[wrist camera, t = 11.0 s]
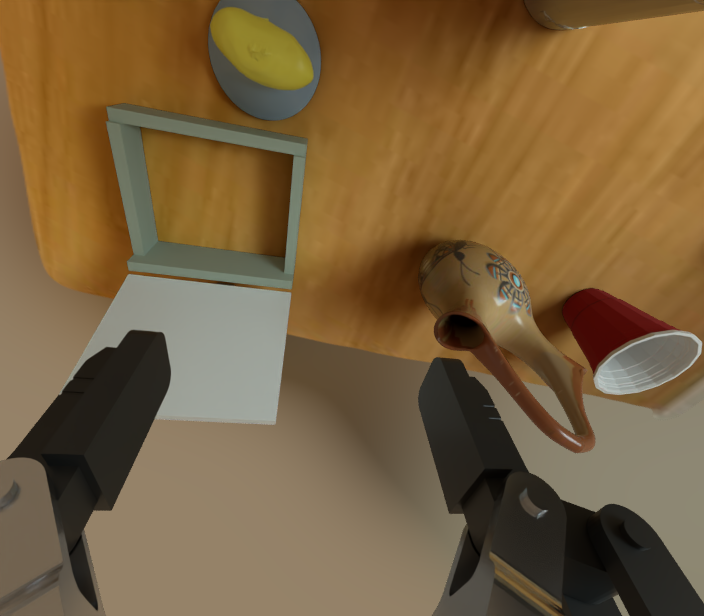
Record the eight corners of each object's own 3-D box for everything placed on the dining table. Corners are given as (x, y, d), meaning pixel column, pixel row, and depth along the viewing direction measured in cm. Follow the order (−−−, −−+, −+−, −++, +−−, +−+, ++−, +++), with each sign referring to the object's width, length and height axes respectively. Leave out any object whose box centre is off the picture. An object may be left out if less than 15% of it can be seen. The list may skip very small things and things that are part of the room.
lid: (49, 409, 24) (55, 414, 25) (275, 421, 27) (275, 424, 27) (128, 274, 33) (130, 279, 34) (291, 292, 36) (290, 297, 36)
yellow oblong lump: (225, -10, 25) (211, -21, 22) (322, 55, 27) (322, 54, 24) (210, 51, 27) (195, 50, 24) (301, 107, 30) (299, 112, 26)
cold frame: (123, 103, 29) (92, 109, 25) (307, 138, 32) (305, 149, 28) (149, 247, 37) (128, 270, 33) (294, 266, 40) (291, 289, 36)
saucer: (207, -32, 25) (204, -34, 24) (328, 1, 26) (328, -1, 25) (213, 108, 30) (211, 108, 29) (314, 128, 31) (314, 129, 31)
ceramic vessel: (377, 263, 40) (433, 462, 20) (421, 197, 36) (547, 368, 16) (477, 311, 46) (598, 504, 26) (526, 259, 42) (717, 442, 21)
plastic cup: (526, 324, 48) (577, 389, 38) (582, 262, 42) (659, 320, 33) (580, 342, 51) (640, 407, 42) (639, 287, 46) (724, 347, 36)
